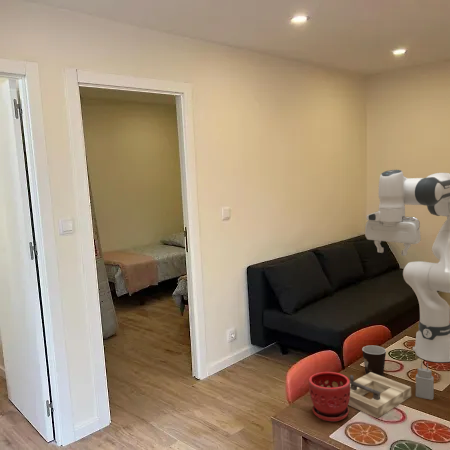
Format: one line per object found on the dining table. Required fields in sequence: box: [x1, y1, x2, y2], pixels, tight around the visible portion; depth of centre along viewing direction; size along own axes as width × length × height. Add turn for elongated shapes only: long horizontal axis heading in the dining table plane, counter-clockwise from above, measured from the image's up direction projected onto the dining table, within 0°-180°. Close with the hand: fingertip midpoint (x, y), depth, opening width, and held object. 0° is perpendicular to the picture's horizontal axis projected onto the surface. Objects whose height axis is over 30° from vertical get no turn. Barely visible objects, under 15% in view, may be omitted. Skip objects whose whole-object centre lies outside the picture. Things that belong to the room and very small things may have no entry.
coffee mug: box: [361, 345, 387, 377], centre depth 174 cm, size 12×9×10 cm
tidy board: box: [348, 372, 412, 419], centre depth 155 cm, size 20×16×8 cm
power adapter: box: [415, 362, 435, 401], centre depth 154 cm, size 3×5×12 cm, turn 57°
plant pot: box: [308, 371, 350, 422], centre depth 147 cm, size 13×13×12 cm
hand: (392, 253), depth 162 cm, fingers open, 8 cm apart
